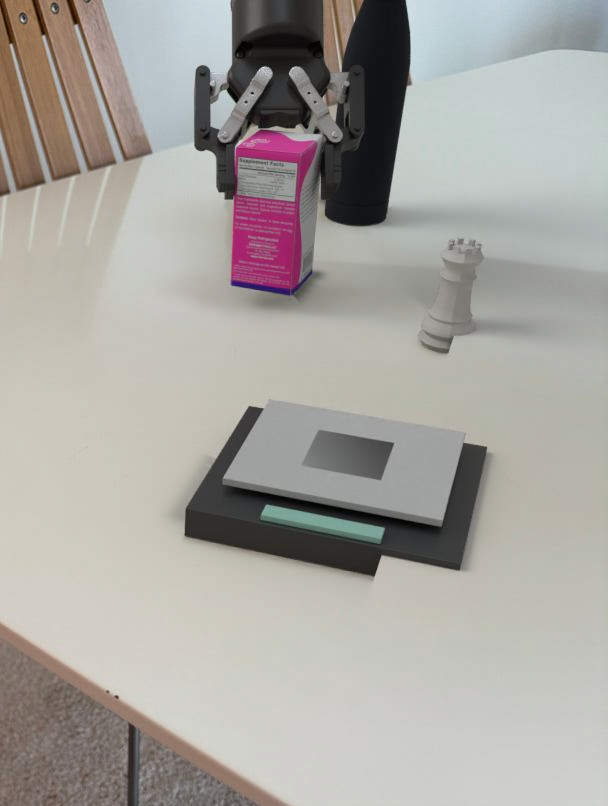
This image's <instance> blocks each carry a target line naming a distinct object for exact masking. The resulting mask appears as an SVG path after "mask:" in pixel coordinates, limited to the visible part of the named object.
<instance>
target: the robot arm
mask: <svg viewBox="0 0 608 806" xmlns="http://www.w3.org/2000/svg"><path fill="white" fill-rule="evenodd" d="M229 6H230V12H231V65H230V67H229V69H228V71H227V72H211V69H210V67H209V66H207V65H205V64H201V65H199V66H197V67H196V68H195V73H194V85H193V129H194V130H193V135H194V136H193V146H194V148H195V150H196V151H198V152H205V151H208V152H210V153H212V154H213V155H214V157H215V169H216V170H215V186H216V187H215V188H216V189H217V192H218V193H219V194H220V193H222V194H223V195H224V197H223V198H224V200H225V201H234V191H235V151H236V147H237V146H238V145H239V144H238V143H239V142H240V141H242V140H243V139H244V137H245V136H246V135H247V134H248V132H249V131H250V129H251V127H252V126H253V125H254V126H257V129H258V130H260V129H264V130H269V129H271V128H275V127H278V128H282V129H288V130H289V129H290V130H292V129H296V127H297V126H299V127H300V129H301V130H302V132H303V133H307V134H320V135H323V136H324V139H323V151H322V161H321V171H320V200H321V201H326V200H330V198H331V196H332V193H336V192H337V189H338V187H339V184H340V181H341V178H342V172H341V153H342V152H344V151H346V150H348V151H355V150H357V148H358V147H359V144H360V140H361V137H362V135H363V133H364V130H365V92H364V69H363V68H362V67H361V66H359V65H354V66H352V67H351V68H350V71H349V72H341V71H330V69H329V67H328V66H327V64H326V61H325V38H324V37H325V36H324V35H325V33H324V31H325V30H324V29H325V28H324V0H230V5H229ZM328 90H329V91H332V92H333V93H334V95H335V98H336V100H337V102H338V101H339V103H340V104H343V103H344V128H342V129H340V128H339V127H338V126H337V124H336V123H335V120H334V118H333V116H331V113H330V108H329V106H328V105H327V103H326V102H325V101H324V99H323V98H324V96H326V94H327V92H328ZM223 91H226V93H227V94H228V96H229V97H230V99H232V100H233V102H234V107H233V108H232V110H231V112H230V115H229V116H228V118H227V119H226V120H225V122H224V123H223V125H222V126H221V128H220V129H219V128H216V127H213V126H211V125H212V124H211V123H212V122H211V117H212V116H211V105H213V104H214V103H216V102H217V101H218V100H219V97H220V94H221V93H222V92H223Z"/></svg>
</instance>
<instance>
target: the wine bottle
mask: <svg viewBox="0 0 608 806" xmlns="http://www.w3.org/2000/svg"><path fill="white" fill-rule="evenodd" d="M410 27H411V26H410V20H409V12H408V5H407V0H362V3H361V5H360V7H359V9H358V12H357V14H356V17H355V20H354V22H353V24H352V27H351V29H350V33H349V35H348V38H347V42H346V46H345V49H344V53H343V57H342V63H341V64H342V65H341V71H340V72H349V71H350V68H351V67H352V66H354V65H359V66H361V67H362V68H363V69H364V92H365V130H364V133H363V135H362V137H361V140H360V144H359V147H358V148H357V150H355V151H348V150H346V151H344V152H342V153H341V172H342V178H341V181H340V184H339V187H338V189H337V192H336V193H332V196H331V198H330V200H325V204H324V216H325V217H326V218H327V219H328V220H330V221H332V222H334V223H338V224H342V225H347V226H360V227H363V226H372V225H379V224H380V223H382V222H385V220H386V219H387V216H388V210H389V204H390V203H389V202H390V197H391V196H390V195H391V192H392V191H391V190H392V184H393V178H394V172H395V166H396V165H395V164H396V158H397V151H398V146H399V139H400V133H401V127H402V120H403V114H404V107H405V102H406V94H407V90H408V89H407V88H408V83H409V82H408V81H409V76H410V71H411V60H412V59H411V57H412V55H411V53H412V51H411V50H412V49H411V48H412V45H411V42H412V41H411V28H410ZM334 121H335V123H336V124H337V126H338V127H339V128H340V129H342V128H344V103H343V104H340V103H339V101H338V100H337V104H336V113H335V120H334Z"/></svg>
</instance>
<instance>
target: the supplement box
mask: <svg viewBox="0 0 608 806" xmlns="http://www.w3.org/2000/svg"><path fill="white" fill-rule="evenodd" d="M323 139H324V136H323V135H320V134H307V133H304V132H293V131H283V130H273V129H258V130H257V131H256V132H255V133H253V134H251V135H250V136H249V137H248V138H246V139H245V140H244V141H242V142H241V143H240V144H237V145H236V146H235V191H234V197H233V210H232V211H233V213H232V214H233V215H232V236H231V238H232V239H231V263H230V264H231V267H230V268H231V269H230V286H232V287H236V288H241V289H247V290H254V291H259V292H265V293H266V292H267V293H271V294H275V295H282V296H286V297H292V296H293V295H294V294H295V293H296V292H297V291H298V290H299V289H300V288H301V287H302V286H303V284H305V282H307V280H308V279H309V278H310V277H311V276H312V275H313V273H314V272H313V268H314V257H315V255H314V254H315V242H316V230H317V220H318V209H319V207H318V206H319V198H320V197H319V196H320V187H321V175H320V171H321V161H322V151H323Z"/></svg>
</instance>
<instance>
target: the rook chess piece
mask: <svg viewBox="0 0 608 806" xmlns="http://www.w3.org/2000/svg"><path fill="white" fill-rule="evenodd" d="M464 240H465V237H457V238H456V239H455V238H451V239H449V240H448V242H447V246H446V247H445V248H444V249H443V250H442V251H441V252H440V256H441V259H442V261H443V263H444V267H443V269H442V270H441V271H440V272H439V276H440V277H441V278H440V285H439V289H438V291H437V295H436V297H435V301H434V303H433V304H432V307H431V308H429V309H428V312H427V314H425V315H424V316H423V318H422V320H421V322H420V328H421V329H420V330H419V331H418V332H417V337H418V339H419V341H420V343H421V345H422V346H423V347H425V348H427V349H428V350H430V351H434V352H438V353H443V354H444V353H445V354H450V353H449V352H450V349H451V346H452V344H453V340H454V338H455V336H457V337H458V336H460V337H461V336H464V335H470V334H471V333H473V332H474V331H475V329H476V323H475V321H474V320H473V316H474V315H473V313H472V308H471V304H472V303H471V302H472V291H473V290H472V289H473V284H474V282H475V281H476V280H477V279H478V276H477V273H476V268H477V267H478V266H479V265H480V264H481V263H482V262H483V261H484V260H485V256H484V253H483V252H482V246H483V244H482V242H481V241H477V239H474V238H469V240H468V243H467V244H466V243H464ZM455 242H456V243H455Z"/></svg>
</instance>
